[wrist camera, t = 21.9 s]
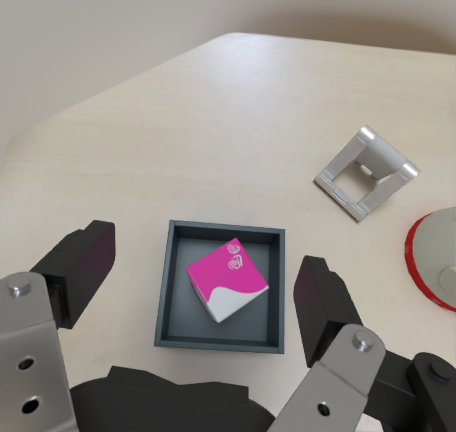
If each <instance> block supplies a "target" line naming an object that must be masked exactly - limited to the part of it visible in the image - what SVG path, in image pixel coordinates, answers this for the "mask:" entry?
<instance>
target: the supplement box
mask: <svg viewBox="0 0 456 432" xmlns="http://www.w3.org/2000/svg"><path fill="white" fill-rule="evenodd" d="M186 271H187V274H188V277H189V280H190V283H191V285H192V287H193V289H194V291H195V293H196V294H197V296H198V298H199V300H200V301H201V303H202V305H203V306H204V308H205V310H206V311H207V313H208V314H209V316H210V318H211V319H212V321H215V322H218V323H220V322H221V321H223V320H224V319H226V318H227V317H229V316H230V315H232V314H233V313H234V312H236V311H237V310H239V309H240V308H242V307H243V306H244V305H246V304H247V303H249V302H250V301H251V300H253V299H254V298H256V297H257V296H258V295H260V294H261V293H263V292H264V291H265V290H267V289H268V288H269V287H268V285H267V283H266V282H265V280H264V279H263V277H262V276H261V274H260V273H259V271H258V270H257V268H256V267H255V265H254V264H253V262H252V261H251V259H250V258H249V256H248V255H247V253H246V252H245V250H244V249H243V247H242V246H241V244H240V242H239V241H238V239H237V238H235V239H233V240H231V241H230V242H228V243H226V244H225V245H223V246H221V247H220V248H218V249H216V250H215V251H213V252H211V253H210V254H208V255H206V256H204V257H203V258H201V259H199V260H198V261H196V262H194V263H193V264H191V265H189V266H188V267H186Z"/></svg>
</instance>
